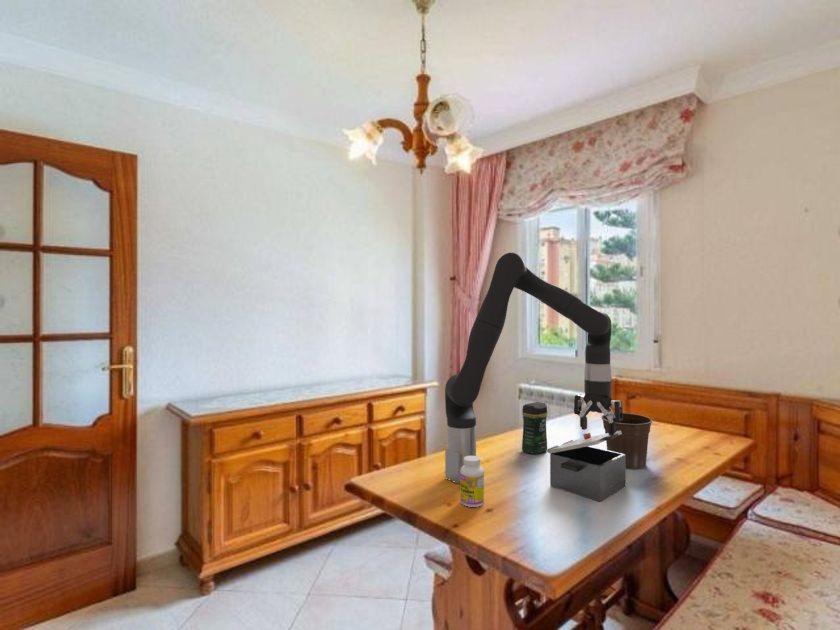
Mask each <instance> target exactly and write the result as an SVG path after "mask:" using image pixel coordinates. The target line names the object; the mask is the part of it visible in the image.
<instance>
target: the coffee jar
mask: <svg viewBox="0 0 840 630" xmlns="http://www.w3.org/2000/svg"><path fill="white" fill-rule="evenodd" d="M521 412H522V414H521V415H522V420H523V423H522V424H523V425H522V440H521V442H522V444H521V450H522V451H523V452H525V454H530V455H531V454H535V455H539V454H542V453H545V452H547V449H548V438H547V437H548V436H547V435H548V434H547V417H548V405H547V404H546V403H545V402H542V401H541V402H539V401H535V402H530V403H526V404H524V405H523V406H522V411H521Z"/></svg>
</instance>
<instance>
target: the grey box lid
mask: <svg viewBox="0 0 840 630" xmlns="http://www.w3.org/2000/svg"><path fill="white" fill-rule="evenodd" d="M620 434H622V433H621V431H616V433H614V435H612V436H611V435H609V433H607V434H605V433H603V434H598V435H594V436H593V435H591V433H590V432H587V433H584V434H582V435H583V438H579V439H578V438H577V439H571V440H568V441H565V442H562V443H560V444H558V445H554V446H552V447H550V448H549V447H548V448H547V451H546V452H547V453H548V454H551V453H555V452H560V451H566V450H571V449H576V448H582V447H587V446H592V447H593V446H597V445H598V444H600V443H605V442H606V440H610V439H613V438H615V437H618V436H619V435H620Z"/></svg>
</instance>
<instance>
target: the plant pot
mask: <svg viewBox="0 0 840 630" xmlns="http://www.w3.org/2000/svg"><path fill="white" fill-rule="evenodd" d="M613 414H614V415H615V412H613ZM600 417H601V420H602V423H603V429H604V432H605V433H604V434H607V433H609V423H610V422H609V420H608V419H607V417H606V416H605V415H604V414H602V415H601V416H600ZM652 423H653V419H652V418H650V417H649V416H645V415H642V414H638V413H637V414H636V413H629V412H623V420H622V421H619V422H616V431H621V433H622V434H620V435H619V436H618V437H615V438H613V439H610V440H606V441H605V442H606V450H609V451H613V452H618V453H622V454H626V470H627V469H628V470H640V469H643V468H645V467H646V466H647V458H648V448H649V447H648V446H649V435H650V432H651V427H652V426H651V425H652Z"/></svg>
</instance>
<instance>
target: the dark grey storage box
mask: <svg viewBox="0 0 840 630" xmlns="http://www.w3.org/2000/svg"><path fill="white" fill-rule="evenodd" d="M549 455H550V457H549V461H550V462H549V464H550V466H549V467H550V469H549V471H550V473H549V475H550V477H549V482H550V483H549V485H550V487H552V488H554V489H558V490H562V491H565V492H567V493H568V492H569V493H571V494H574V495H577V496H580V497H583V498H586V499H589V500H591V501H593V500H594V501H596V502H599V503H601V502H604V500H606V499H608V498H609V497H612V496H613V495H614V494H616V493H618V492H620V491H621V490H622V489H624V487H625V488H626V486H627V485H626V484H627V483H626V478H627V477H626V473H627V472H626V470H627V469H626V454H622V453H618V452H613V451H609V450H607V449H605V448H600V447H595V446H593V445H592V446H587V447H582V448H576V449H571V450H566V451H560V452H555V453H549Z"/></svg>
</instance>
